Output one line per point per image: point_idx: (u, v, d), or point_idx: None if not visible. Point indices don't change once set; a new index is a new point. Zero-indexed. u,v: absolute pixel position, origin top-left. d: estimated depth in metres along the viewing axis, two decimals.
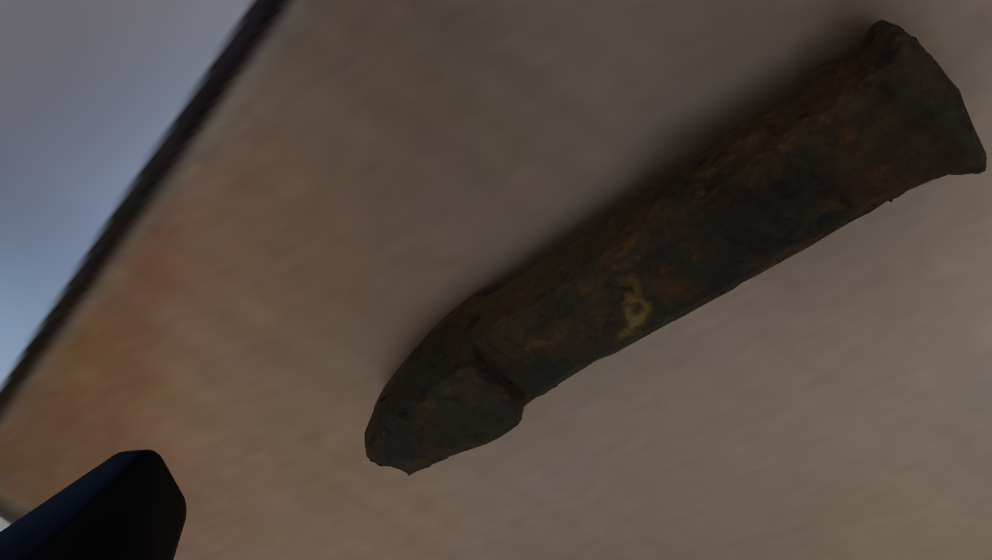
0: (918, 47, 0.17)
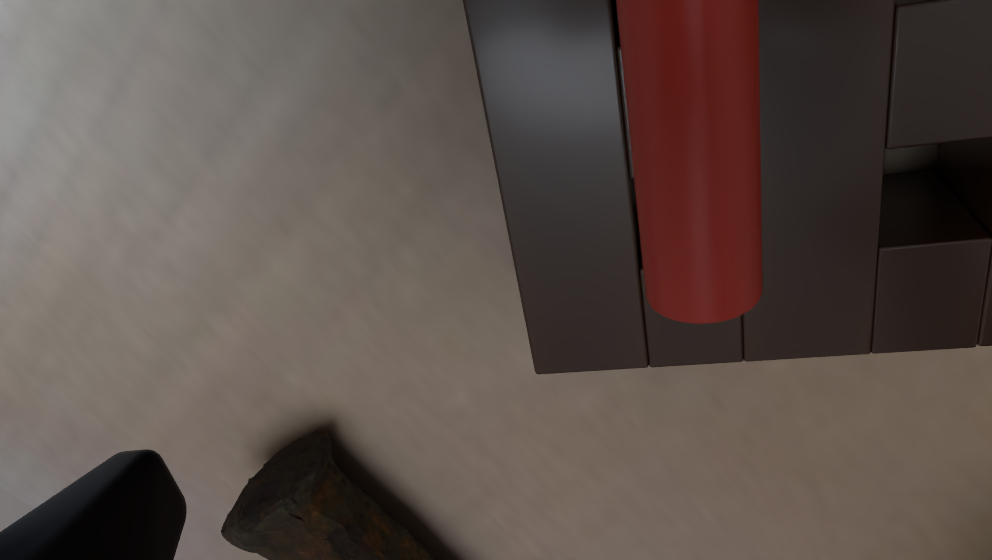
0: (226, 524, 0.25)
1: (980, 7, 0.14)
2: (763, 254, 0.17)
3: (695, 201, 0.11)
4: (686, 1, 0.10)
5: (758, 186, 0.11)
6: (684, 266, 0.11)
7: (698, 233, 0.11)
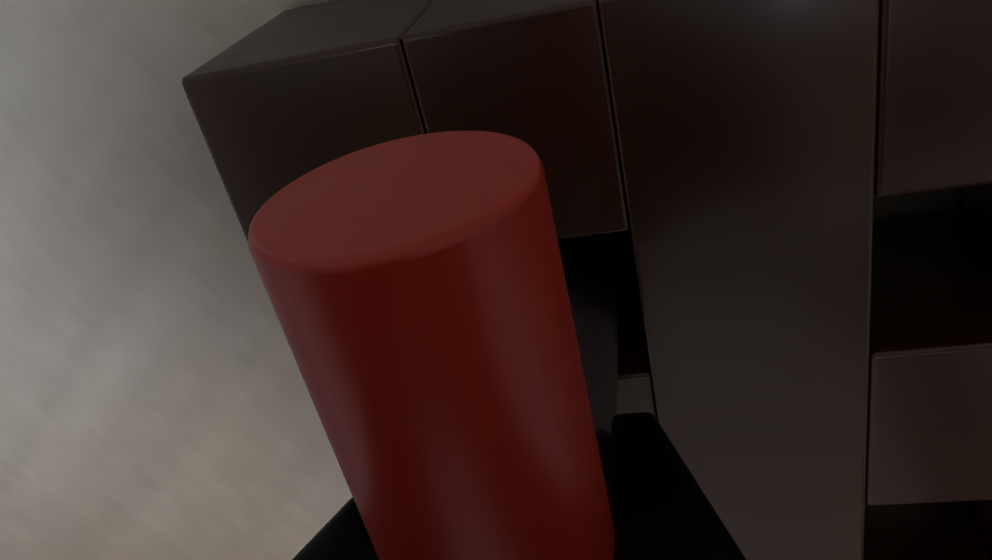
0: None
1: (990, 360, 0.10)
2: None
3: None
4: None
5: None
6: None
7: None
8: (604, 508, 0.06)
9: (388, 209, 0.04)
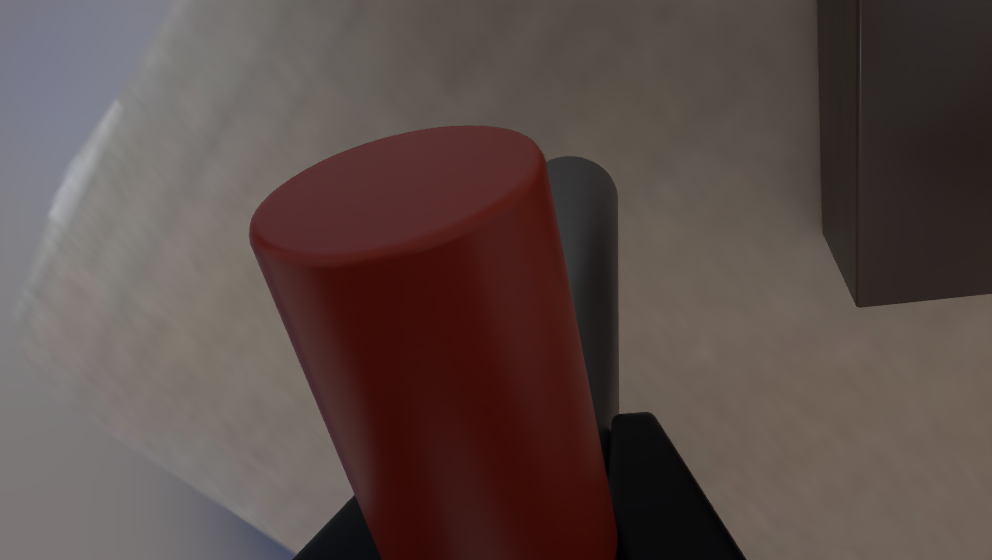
0: None
1: None
2: None
3: None
4: None
5: None
6: None
7: None
8: (606, 505, 0.06)
9: (389, 204, 0.04)
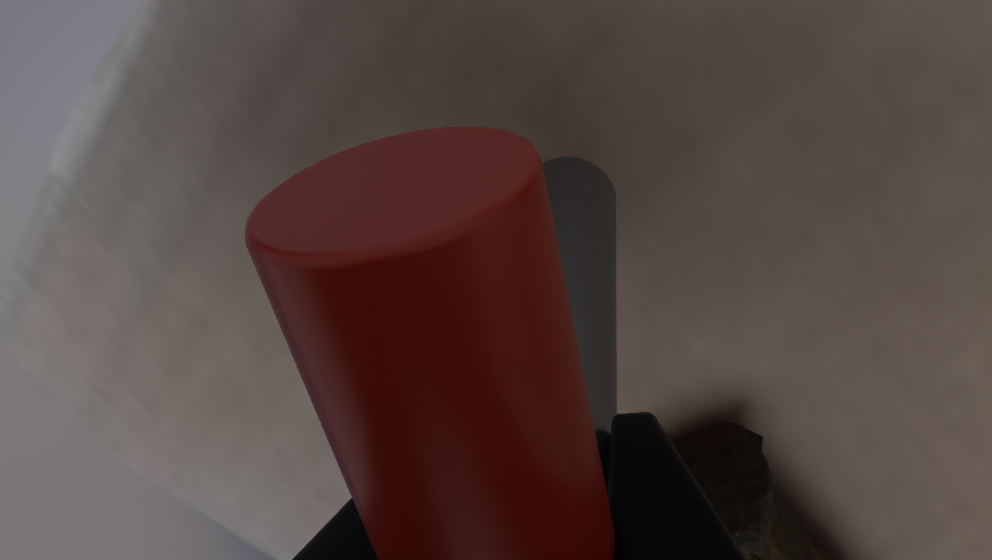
0: None
1: None
2: None
3: None
4: None
5: None
6: None
7: None
8: (603, 506, 0.06)
9: (385, 205, 0.04)
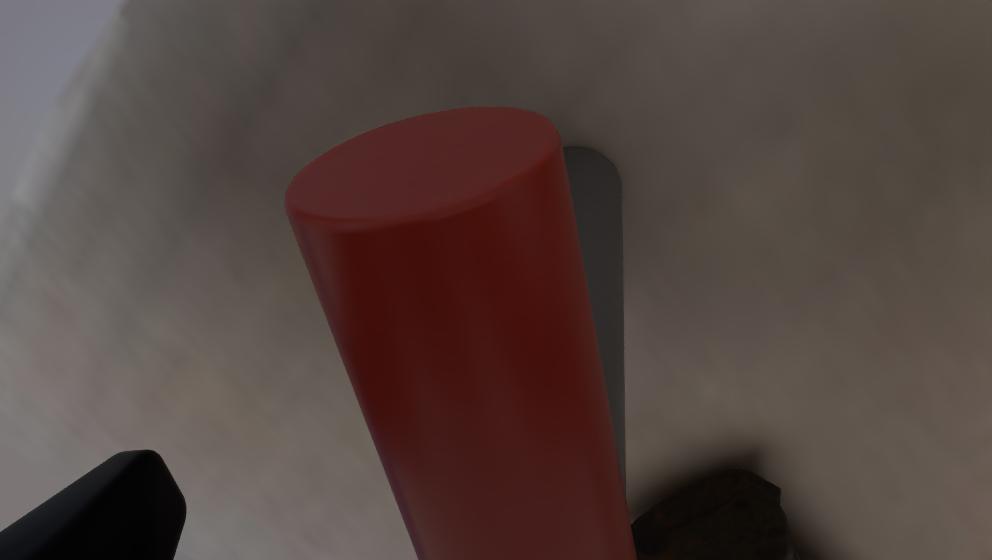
0: None
1: None
2: None
3: None
4: None
5: None
6: None
7: None
8: (615, 466, 0.06)
9: (417, 175, 0.05)
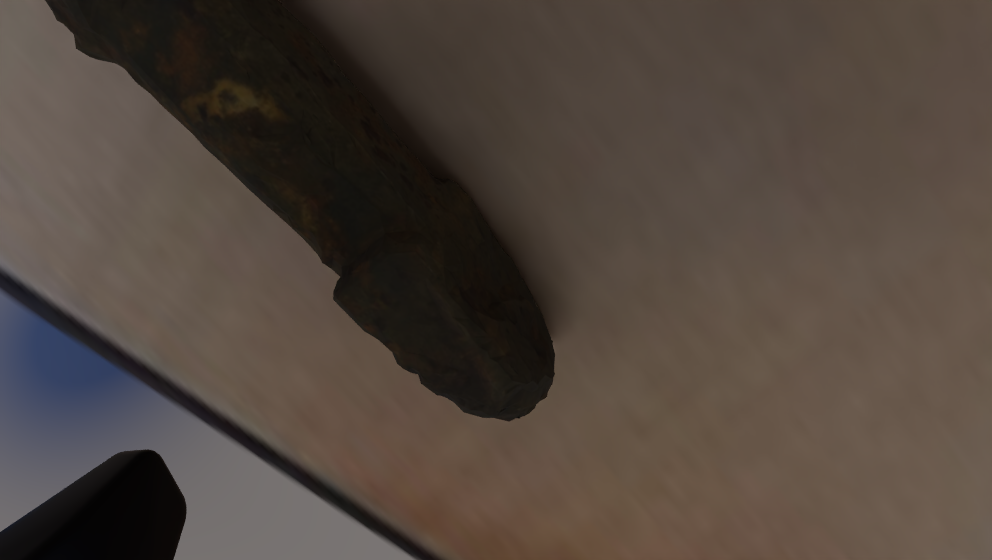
0: None
1: None
2: None
3: None
4: None
5: None
6: None
7: None
8: None
9: None
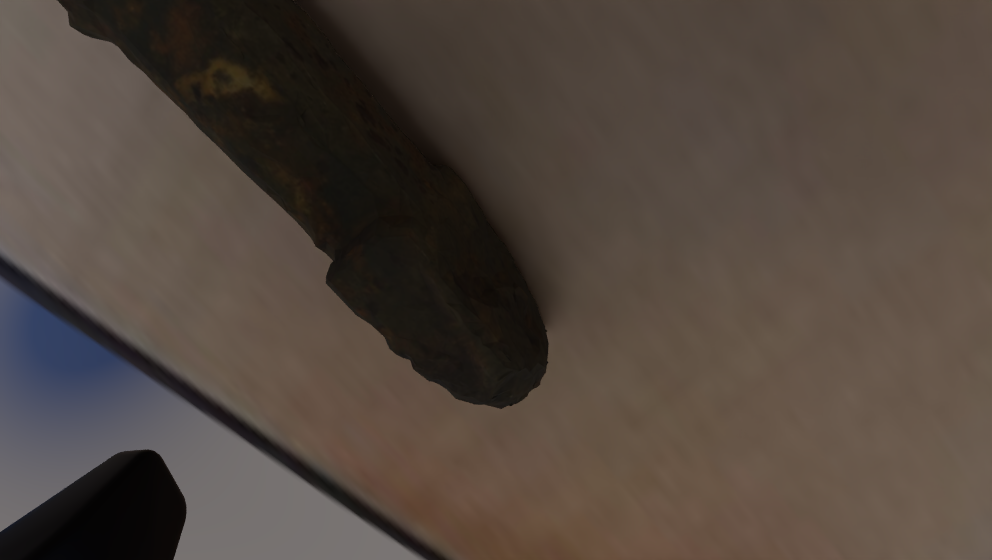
0: None
1: None
2: None
3: None
4: None
5: None
6: None
7: None
8: None
9: None
